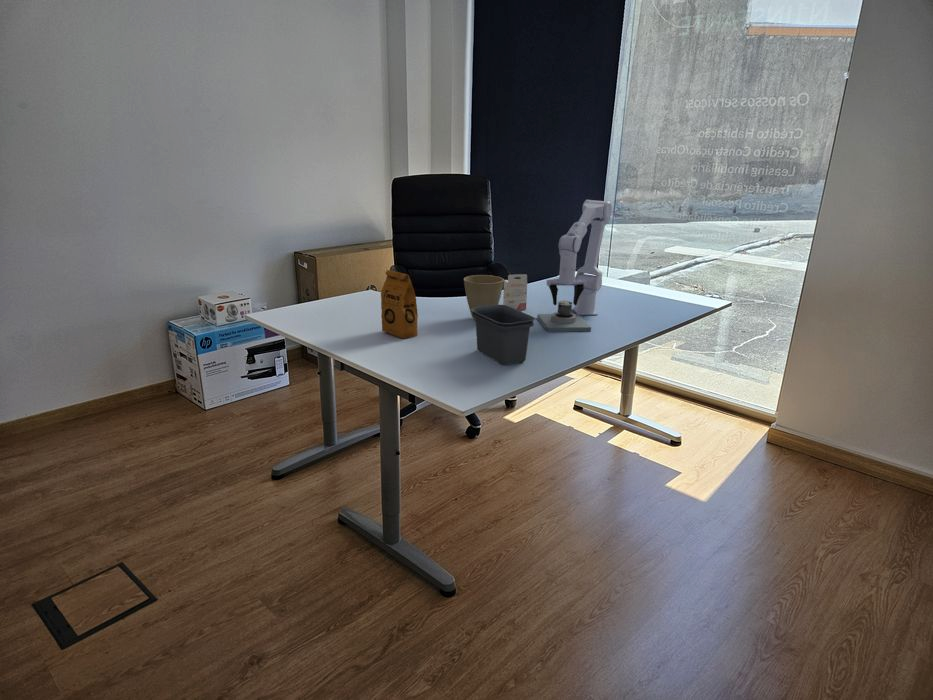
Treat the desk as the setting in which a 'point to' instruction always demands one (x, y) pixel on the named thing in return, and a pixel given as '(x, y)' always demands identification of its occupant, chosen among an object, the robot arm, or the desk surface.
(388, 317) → the coffee package
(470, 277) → the plant pot
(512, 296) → the ink cartridge box
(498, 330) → the storage bin
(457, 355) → the desk surface
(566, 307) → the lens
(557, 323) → the mount plate
